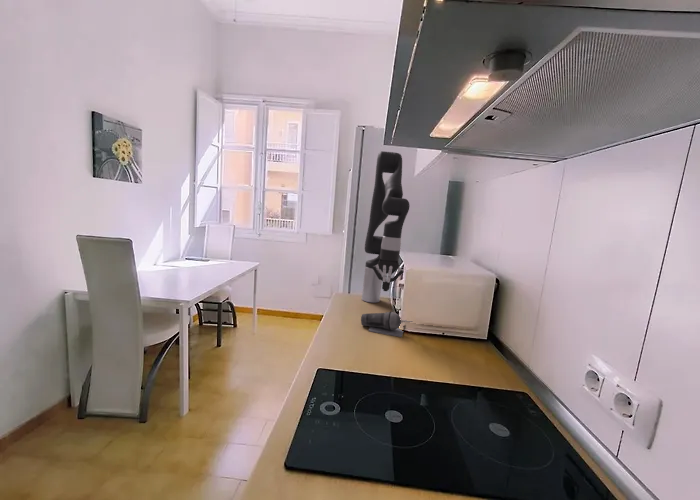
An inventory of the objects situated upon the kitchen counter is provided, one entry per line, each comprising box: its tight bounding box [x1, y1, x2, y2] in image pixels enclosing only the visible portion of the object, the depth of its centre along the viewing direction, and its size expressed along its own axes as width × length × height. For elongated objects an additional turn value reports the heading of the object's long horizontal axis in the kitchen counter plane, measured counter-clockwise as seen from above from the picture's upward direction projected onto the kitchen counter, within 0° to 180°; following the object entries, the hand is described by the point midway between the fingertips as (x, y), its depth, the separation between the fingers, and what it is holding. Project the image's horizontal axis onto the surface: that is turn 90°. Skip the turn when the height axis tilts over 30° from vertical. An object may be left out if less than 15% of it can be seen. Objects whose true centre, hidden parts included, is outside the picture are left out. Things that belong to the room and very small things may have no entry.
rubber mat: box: [368, 326, 404, 338], centre depth 149 cm, size 16×13×1 cm
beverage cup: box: [360, 311, 413, 330], centre depth 145 cm, size 7×7×20 cm
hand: (385, 290), depth 147 cm, fingers closed
